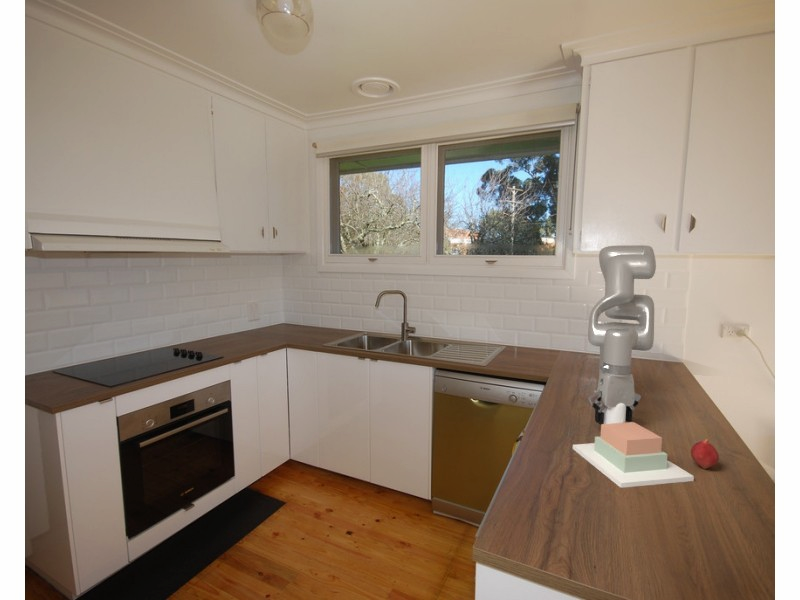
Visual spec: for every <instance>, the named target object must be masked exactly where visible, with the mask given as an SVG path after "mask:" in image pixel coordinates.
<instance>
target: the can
mask: <svg viewBox="0 0 800 600" xmlns="http://www.w3.org/2000/svg"><path fill="white" fill-rule="evenodd" d="M620 401H621V400H620ZM602 412H603V413H604V424H613V423H626V421H625V418H626V406H625V404H623V403H619V404H617V405H616V407H607V406H606V408H605V409H604V410H603V411H602Z"/></svg>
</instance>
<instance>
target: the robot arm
mask: <svg viewBox="0 0 800 600" xmlns="http://www.w3.org/2000/svg"><path fill="white" fill-rule="evenodd" d="M598 260H599V261H598V262H599V267H600V270H601V271H600V272H601V273H602V276H603V279H604V284H605V287H604V296H603V297H602V298H601V299H599V301H598V302H596V304H594V306H593V307H592V309H591V311H590V314H589V317H588V328H587V329H588V331H587V338H588V342H589V343H590V345H592V346H594V347H599V365H598V366H599V367H598V368H599V369H598V381H597V382H598V383H597V388H596V389H594V390H593V394H591V395H590V396H588V399H587V400H588V402H589V403H590V406H591V407H592V408H593V410H594V422H596V424H599V425H600V426H601V424H604V413H603V412H602V411H603V410H604V409H605V408H606V406H607V407H616V405H617V404H619V403H623V404H625V406H626V418H625V422H626V423H627V422H633V411H635V410H636V407H637V406H638V404H639V402H640V400H641V398H642V396H641V394H639V393H637V392H635V389H636V388H635V380H634V375H633V373H631V366H632V351H645V352H647V351H650V350H652V348H653V346H654V341H655V340H654V339H655V303H654V300H653V298H652V297H651V296H649V295H647V294H635V293H634V291H635V280H651V279H653V277H654V276H655V273H656V269H657V268H656V267H657V262H656V256H655V252H654V249H653V247H652V246H650V245H643V244H642V245H641V244H640V245H626V244H625V245H624V244H623V245H610V246H608V245H607V246H605V247H603V248H601V250H599V254H598ZM602 313H604V315H605V316H606V318H609V319H613V320H620V321H621V320H622V321H623V320H624V321H635V322H638V323H630V322H629V323H628V322H617V321H609V322H603V323H599V319H600V316H601V314H602ZM620 400H621V401H620Z"/></svg>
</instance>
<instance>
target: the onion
mask: <svg viewBox="0 0 800 600" xmlns="http://www.w3.org/2000/svg"><path fill="white" fill-rule="evenodd" d="M690 456H691V458H692V459H693V461H694V462H695V463H696V464H697V465H698V466H700V468H702V469H704V470H706V469H708V468H711V467H713V466H715V465H716V464H718V463H719V460H720V459H719V458H720V455H719V452H718V451H717V449H716V447H715V446H714V445H712V444H711V443H710V442H709V439H703V440H701V441H699V442H698V441H697V442H696V443H694V444H693V445H692V447H691V449H690Z"/></svg>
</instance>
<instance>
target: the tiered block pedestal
mask: <svg viewBox="0 0 800 600" xmlns="http://www.w3.org/2000/svg"><path fill="white" fill-rule="evenodd" d="M662 444H663V437H661V436H659V435H657V434H656V433H655V432H652V431H651V430H649V429H647V428H645V427H644V426H641V424H640V425H639V424H638V423H636V422H634V421H632V422H627V421H626V422H625V423H613V424H601V425H600V436H594V442H591V443H580V444H572V450H573V451H575V452H576V453H577V454H579V456H580V457H582V458H583V459H585V461H587V462H588V463H589V464H590V465H592V466H593V467H595V468H596V469H597V470H599V472H600V473H602V474H603V475H604V476H606V477H607V478H608V479H609V480H611V481H612V482H613V483H614V484H616V486H618V487H619V488H621V489H622V488H633V487H642V486H643V487H644V486H655V485H663V484H664V485H665V484H672V483H673V484H676V483H685V482H694V479H695V477H694V475H693V474H691V473H689V472H688V471H686V470H685V469H683V468H681V467H679V466H678V465H676V464H675V463H673V462H671V461H670V460H668V453H666V452H665V451H663V450H662V446H663V445H662Z"/></svg>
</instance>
